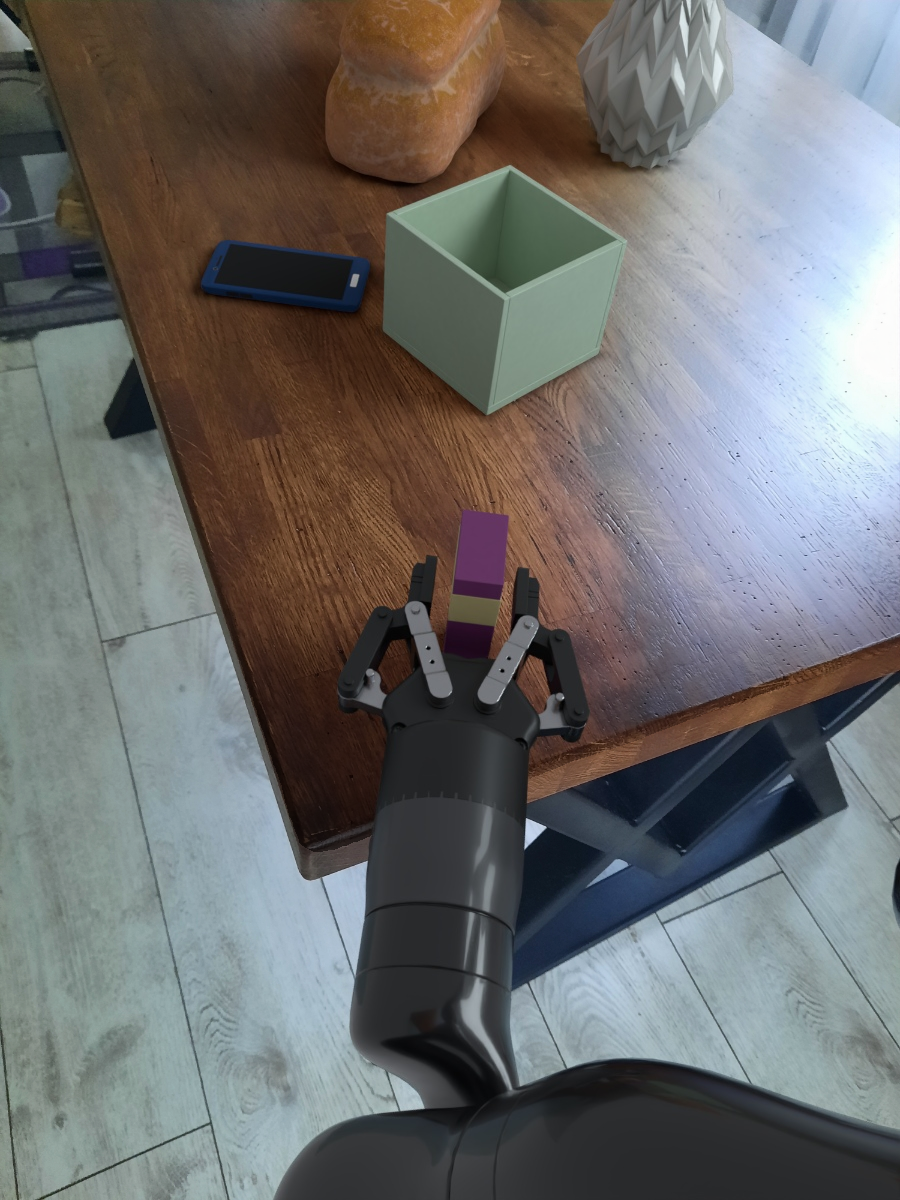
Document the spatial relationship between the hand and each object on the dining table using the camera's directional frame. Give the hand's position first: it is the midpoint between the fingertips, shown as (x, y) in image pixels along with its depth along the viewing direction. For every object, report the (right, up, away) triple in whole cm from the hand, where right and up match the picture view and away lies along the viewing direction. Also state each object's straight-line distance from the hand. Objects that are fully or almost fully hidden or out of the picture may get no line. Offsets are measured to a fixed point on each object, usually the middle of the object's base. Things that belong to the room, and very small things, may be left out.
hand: (475, 570), depth 56 cm
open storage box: (+2, +20, +24) cm, 31 cm away
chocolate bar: (-1, -6, +4) cm, 7 cm away
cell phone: (-16, +27, +27) cm, 41 cm away
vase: (+19, +47, +46) cm, 69 cm away
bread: (-5, +50, +45) cm, 68 cm away
